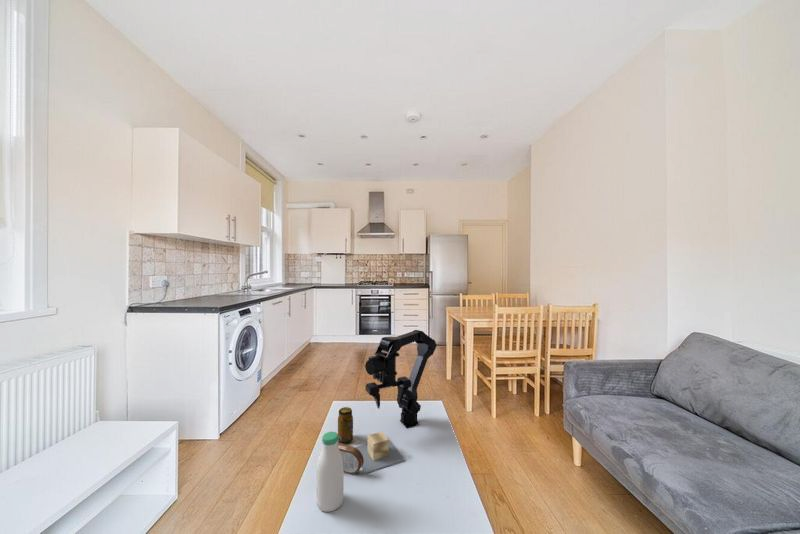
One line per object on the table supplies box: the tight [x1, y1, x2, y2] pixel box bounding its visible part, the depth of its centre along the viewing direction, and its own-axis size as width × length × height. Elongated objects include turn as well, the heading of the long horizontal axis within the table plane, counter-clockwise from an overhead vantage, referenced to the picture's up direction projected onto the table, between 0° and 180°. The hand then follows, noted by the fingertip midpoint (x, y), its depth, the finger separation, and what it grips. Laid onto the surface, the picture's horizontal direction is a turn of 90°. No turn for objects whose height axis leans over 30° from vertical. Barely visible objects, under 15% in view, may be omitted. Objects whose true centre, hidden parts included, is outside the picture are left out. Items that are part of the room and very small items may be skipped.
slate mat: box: [354, 437, 406, 475], centre depth 110 cm, size 15×15×1 cm
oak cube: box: [367, 431, 390, 461], centre depth 110 cm, size 6×6×6 cm
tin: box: [337, 443, 364, 475], centre depth 102 cm, size 15×3×8 cm, turn 71°
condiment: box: [337, 406, 360, 446], centre depth 119 cm, size 7×8×12 cm
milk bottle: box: [316, 431, 344, 513], centre depth 88 cm, size 8×8×20 cm
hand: (388, 405), depth 123 cm, fingers open, 9 cm apart
